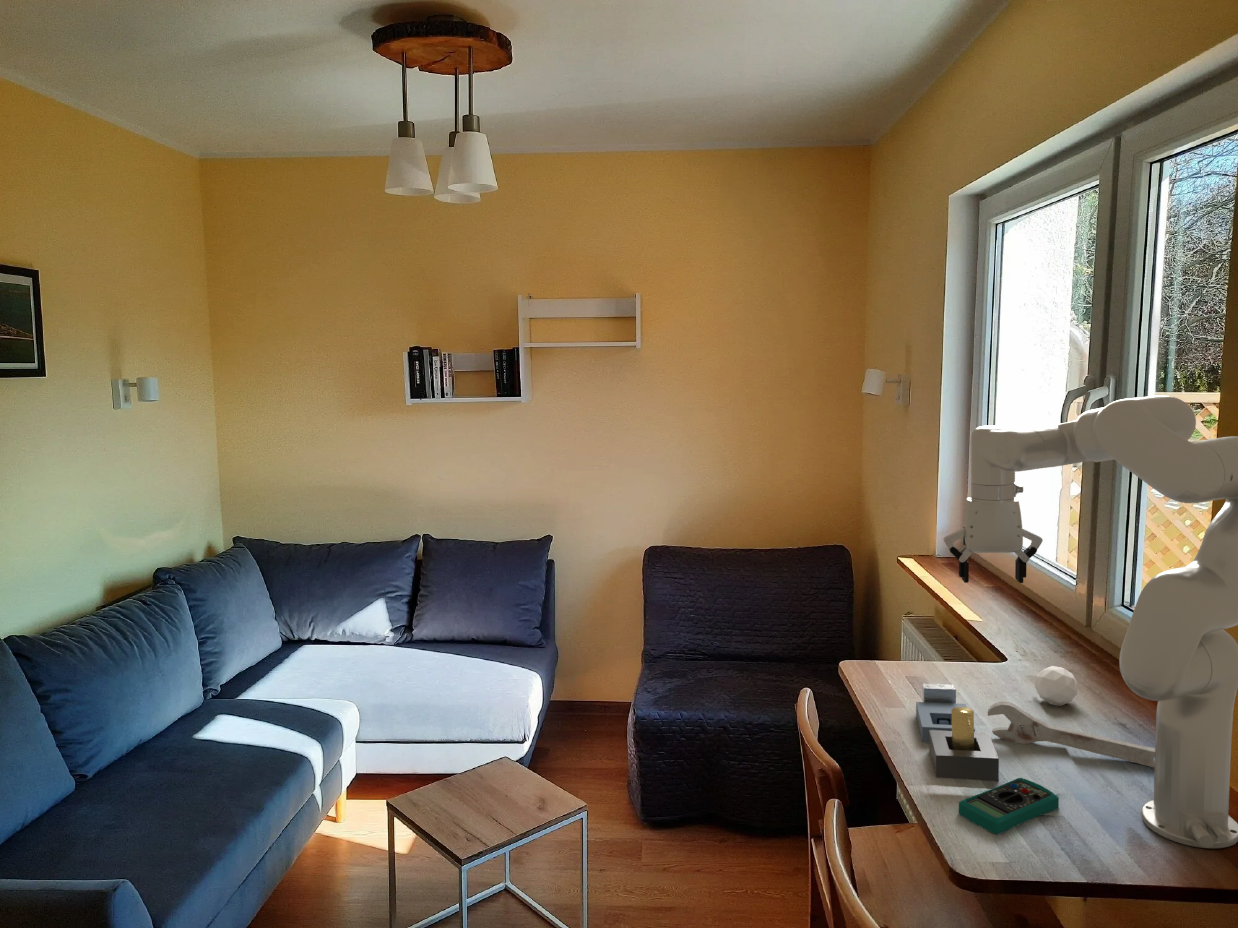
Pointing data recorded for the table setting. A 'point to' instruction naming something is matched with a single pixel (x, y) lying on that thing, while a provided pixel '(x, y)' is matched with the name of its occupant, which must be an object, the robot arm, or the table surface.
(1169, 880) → the table surface
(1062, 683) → the ball
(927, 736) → the socket block
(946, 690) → the plug block
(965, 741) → the peg
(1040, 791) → the digital multimeter
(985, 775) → the grey slotted block
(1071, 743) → the wrench
